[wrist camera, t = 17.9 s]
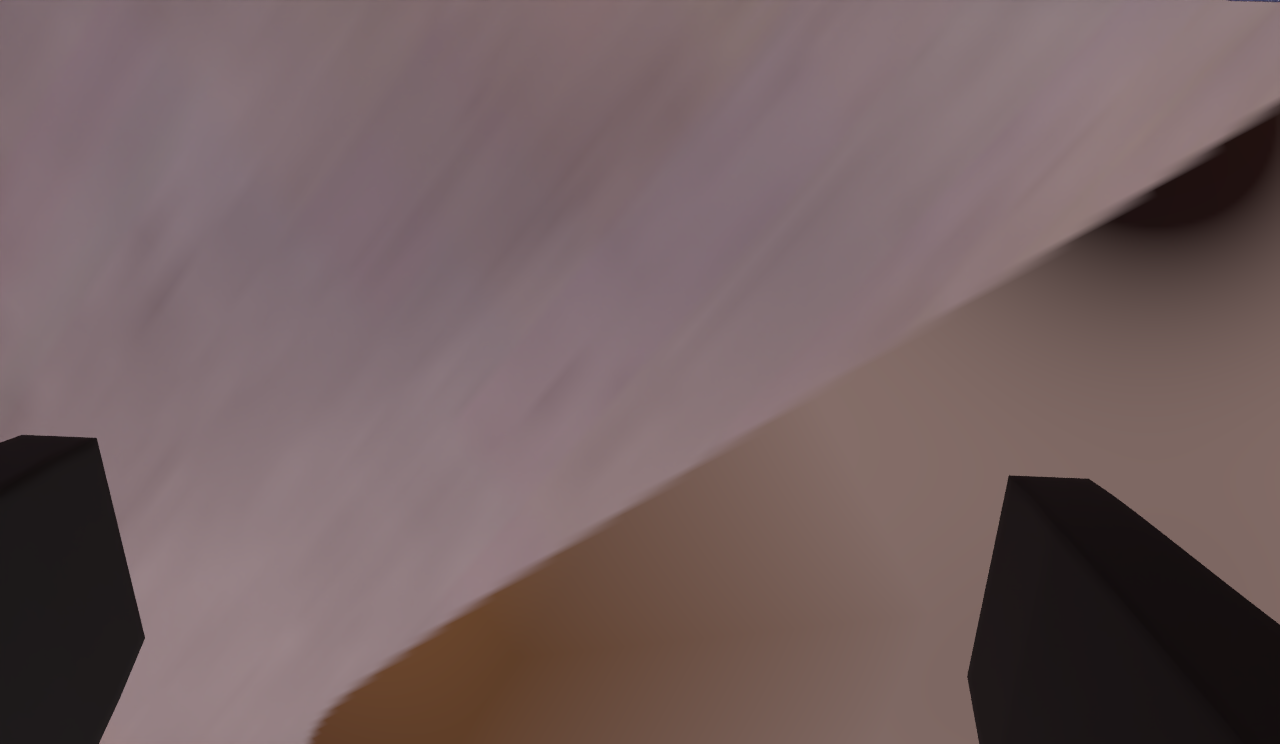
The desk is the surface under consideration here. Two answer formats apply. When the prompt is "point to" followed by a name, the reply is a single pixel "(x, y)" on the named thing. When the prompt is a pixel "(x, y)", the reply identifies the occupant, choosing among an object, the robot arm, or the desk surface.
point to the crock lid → (1258, 0)
